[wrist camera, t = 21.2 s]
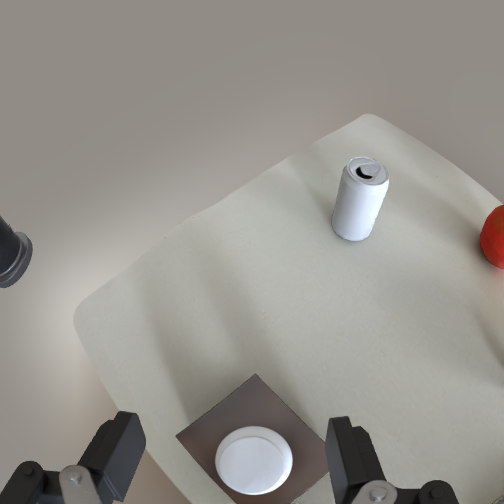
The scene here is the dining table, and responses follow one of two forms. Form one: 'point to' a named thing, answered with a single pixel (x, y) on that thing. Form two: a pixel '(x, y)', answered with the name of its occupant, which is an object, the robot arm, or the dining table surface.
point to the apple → (494, 237)
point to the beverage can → (359, 198)
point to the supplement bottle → (253, 460)
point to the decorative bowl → (499, 501)
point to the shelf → (264, 415)
